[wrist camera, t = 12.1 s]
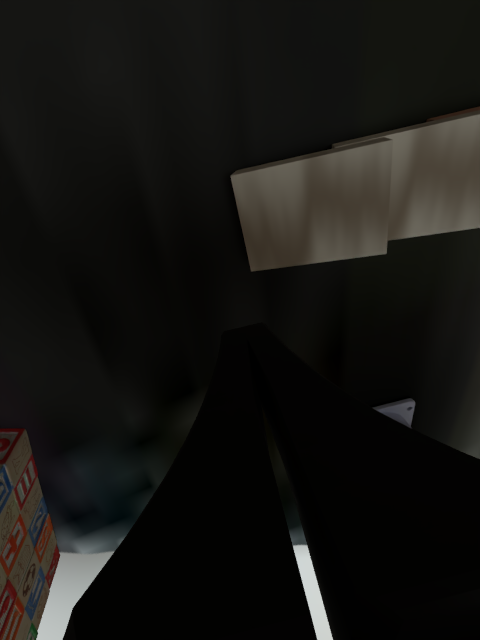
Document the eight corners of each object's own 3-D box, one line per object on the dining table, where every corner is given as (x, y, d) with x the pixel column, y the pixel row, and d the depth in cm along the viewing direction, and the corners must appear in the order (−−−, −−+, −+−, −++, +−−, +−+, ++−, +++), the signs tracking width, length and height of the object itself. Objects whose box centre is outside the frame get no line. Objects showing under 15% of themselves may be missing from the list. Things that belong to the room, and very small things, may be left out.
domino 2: (335, 237, 18) (470, 217, 16) (338, 247, 16) (485, 226, 15) (332, 143, 15) (493, 106, 13) (334, 147, 14) (513, 106, 12)
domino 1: (254, 259, 18) (379, 242, 16) (251, 271, 16) (386, 253, 15) (236, 170, 15) (384, 136, 13) (230, 176, 14) (393, 139, 12)
